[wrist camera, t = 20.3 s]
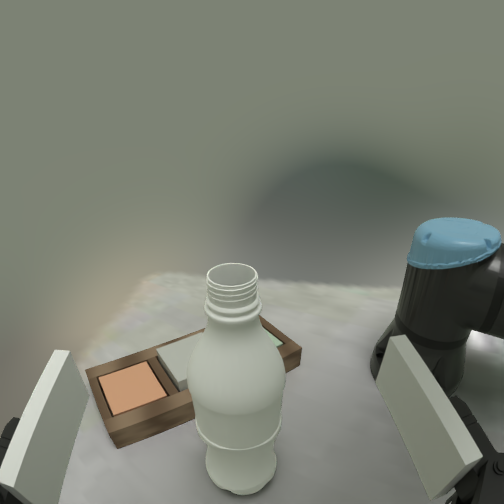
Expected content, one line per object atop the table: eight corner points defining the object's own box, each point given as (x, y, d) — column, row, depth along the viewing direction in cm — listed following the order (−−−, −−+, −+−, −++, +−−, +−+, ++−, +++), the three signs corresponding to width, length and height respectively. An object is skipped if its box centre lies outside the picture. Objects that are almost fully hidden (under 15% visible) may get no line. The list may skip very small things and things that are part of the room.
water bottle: (245, 512, 25) (236, 327, 14) (195, 475, 29) (146, 277, 19) (288, 469, 30) (316, 270, 19) (238, 438, 34) (229, 241, 24)
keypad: (252, 326, 55) (252, 309, 53) (299, 365, 46) (301, 347, 44) (92, 386, 40) (85, 369, 38) (117, 448, 31) (108, 433, 29)
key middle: (203, 346, 46) (201, 332, 45) (229, 375, 41) (228, 360, 40) (159, 363, 43) (155, 349, 41) (181, 396, 37) (178, 381, 36)
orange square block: (150, 375, 42) (146, 361, 41) (170, 408, 37) (166, 395, 36) (104, 391, 38) (98, 377, 37) (120, 428, 33) (113, 415, 32)
